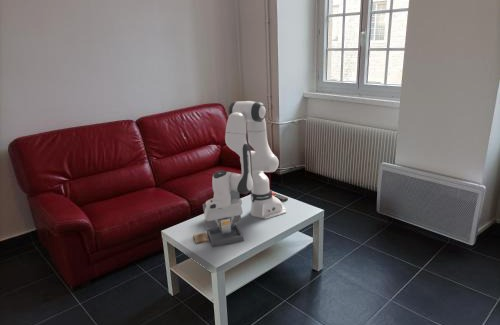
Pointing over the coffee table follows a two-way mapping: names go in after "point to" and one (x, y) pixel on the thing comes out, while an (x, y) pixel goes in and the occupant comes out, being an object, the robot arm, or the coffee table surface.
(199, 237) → the board
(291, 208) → the coffee table surface
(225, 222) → the block
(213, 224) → the lid
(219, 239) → the case
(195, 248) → the coffee table surface
